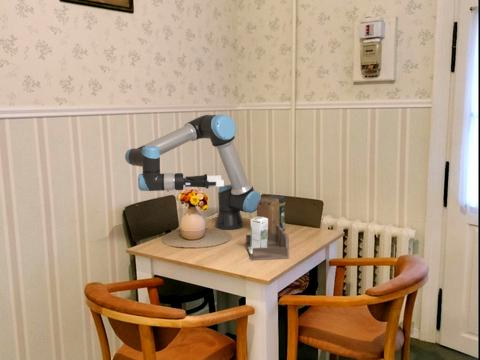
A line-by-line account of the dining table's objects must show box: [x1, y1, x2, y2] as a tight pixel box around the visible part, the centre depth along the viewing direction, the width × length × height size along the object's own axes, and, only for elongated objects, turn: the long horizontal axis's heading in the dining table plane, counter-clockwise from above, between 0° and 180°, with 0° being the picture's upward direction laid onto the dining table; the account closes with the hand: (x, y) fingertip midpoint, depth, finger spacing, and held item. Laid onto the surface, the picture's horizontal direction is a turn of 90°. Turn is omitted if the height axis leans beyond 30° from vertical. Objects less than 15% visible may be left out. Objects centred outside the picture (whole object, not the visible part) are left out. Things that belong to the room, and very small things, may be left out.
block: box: [256, 196, 280, 234], centre depth 223 cm, size 11×8×20 cm
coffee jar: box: [267, 194, 287, 231], centre depth 237 cm, size 10×8×19 cm
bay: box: [244, 224, 290, 261], centre depth 200 cm, size 22×16×10 cm
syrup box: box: [249, 216, 268, 250], centre depth 199 cm, size 6×6×14 cm
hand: (222, 180), depth 199 cm, fingers open, 13 cm apart
